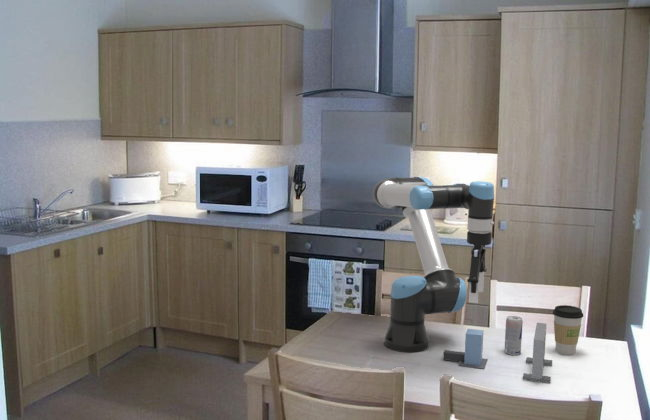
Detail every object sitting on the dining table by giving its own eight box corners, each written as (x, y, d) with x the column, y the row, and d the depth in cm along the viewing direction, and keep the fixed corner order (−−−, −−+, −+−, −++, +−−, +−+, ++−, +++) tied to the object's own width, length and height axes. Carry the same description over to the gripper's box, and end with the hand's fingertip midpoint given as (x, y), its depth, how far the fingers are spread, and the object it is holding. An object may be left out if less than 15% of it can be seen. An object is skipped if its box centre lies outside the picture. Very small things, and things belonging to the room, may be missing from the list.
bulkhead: (522, 379, 217) (525, 338, 215) (526, 360, 234) (528, 321, 232) (550, 383, 214) (552, 341, 213) (552, 363, 231) (554, 324, 229)
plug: (442, 361, 231) (443, 331, 230) (445, 355, 236) (446, 326, 235) (480, 365, 227) (481, 335, 226) (482, 360, 232) (483, 330, 231)
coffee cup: (582, 357, 237) (586, 314, 234) (551, 355, 239) (554, 311, 236) (578, 348, 246) (581, 305, 244) (548, 345, 248) (551, 303, 246)
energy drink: (522, 351, 242) (524, 317, 240) (519, 356, 237) (521, 321, 235) (506, 349, 244) (507, 315, 242) (502, 353, 239) (504, 319, 238)
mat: (458, 365, 228) (458, 365, 228) (462, 356, 236) (462, 355, 236) (484, 369, 225) (484, 368, 225) (487, 359, 234) (487, 358, 234)
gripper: (487, 239, 211) (483, 308, 215) (495, 225, 235) (492, 288, 238) (461, 237, 214) (458, 305, 217) (472, 224, 237) (469, 286, 240)
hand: (476, 296), depth 228 cm, fingers open, 13 cm apart
